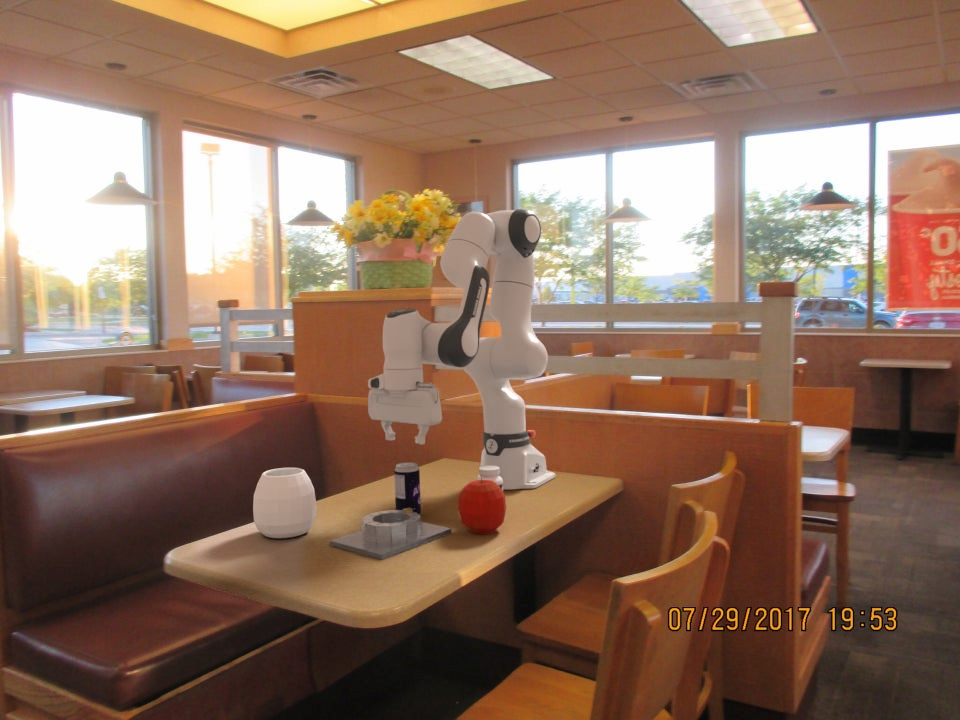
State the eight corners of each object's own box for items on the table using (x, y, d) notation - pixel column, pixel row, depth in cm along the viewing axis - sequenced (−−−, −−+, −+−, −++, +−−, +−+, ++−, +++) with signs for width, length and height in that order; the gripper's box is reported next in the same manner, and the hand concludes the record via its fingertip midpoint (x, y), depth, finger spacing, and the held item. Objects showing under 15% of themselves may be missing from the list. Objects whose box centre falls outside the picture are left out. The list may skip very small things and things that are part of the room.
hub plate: (400, 521, 168) (399, 498, 168) (451, 533, 158) (450, 508, 158) (330, 545, 152) (329, 519, 152) (381, 559, 143) (380, 532, 143)
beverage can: (417, 520, 169) (415, 467, 168) (392, 519, 170) (390, 467, 169) (423, 513, 174) (422, 462, 173) (400, 512, 175) (398, 461, 174)
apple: (501, 522, 165) (500, 470, 164) (511, 536, 155) (510, 480, 155) (456, 526, 164) (454, 473, 163) (462, 540, 154) (461, 484, 153)
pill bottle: (476, 519, 168) (475, 471, 167) (475, 512, 174) (474, 465, 173) (504, 518, 168) (503, 470, 167) (502, 511, 174) (501, 464, 173)
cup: (294, 545, 153) (291, 480, 152) (241, 540, 158) (237, 477, 157) (329, 527, 165) (326, 466, 164) (278, 522, 170) (275, 463, 169)
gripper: (447, 381, 166) (448, 444, 166) (382, 378, 178) (384, 436, 179) (427, 384, 161) (429, 448, 161) (362, 380, 174) (364, 440, 174)
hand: (405, 442), depth 170 cm, fingers open, 8 cm apart
